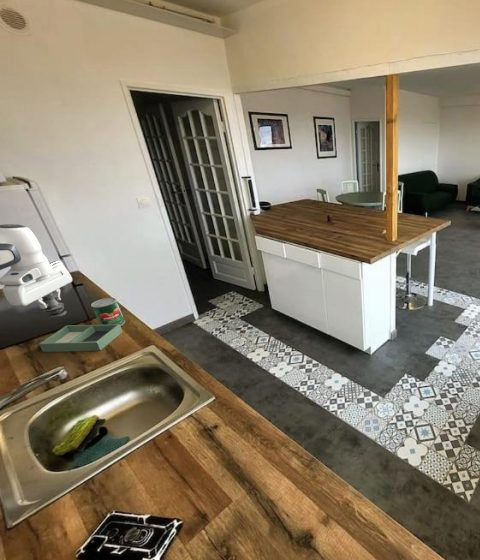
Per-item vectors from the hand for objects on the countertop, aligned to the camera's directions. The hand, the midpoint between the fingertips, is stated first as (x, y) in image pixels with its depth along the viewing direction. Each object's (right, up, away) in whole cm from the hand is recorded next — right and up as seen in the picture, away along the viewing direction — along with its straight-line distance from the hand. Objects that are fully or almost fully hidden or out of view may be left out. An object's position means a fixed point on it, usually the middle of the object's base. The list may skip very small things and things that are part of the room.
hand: (51, 304), depth 113 cm
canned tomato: (+6, -10, +19) cm, 22 cm away
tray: (+5, -15, +8) cm, 18 cm away
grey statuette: (0, -4, +2) cm, 5 cm away
